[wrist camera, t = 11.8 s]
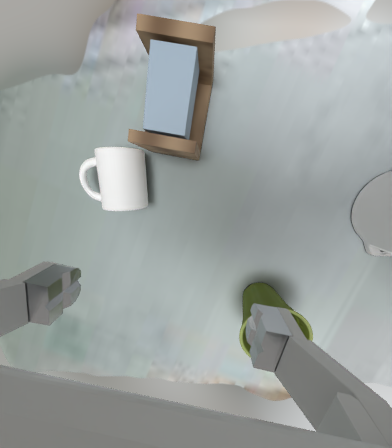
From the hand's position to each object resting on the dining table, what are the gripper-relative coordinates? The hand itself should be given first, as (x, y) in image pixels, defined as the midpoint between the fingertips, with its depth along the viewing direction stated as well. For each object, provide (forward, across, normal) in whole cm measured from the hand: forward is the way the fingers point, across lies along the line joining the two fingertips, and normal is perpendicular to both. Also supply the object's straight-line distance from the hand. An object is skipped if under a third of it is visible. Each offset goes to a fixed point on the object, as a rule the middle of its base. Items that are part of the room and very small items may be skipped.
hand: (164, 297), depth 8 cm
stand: (+29, +6, -15) cm, 33 cm away
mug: (+29, +16, -2) cm, 33 cm away
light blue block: (+23, +6, -15) cm, 28 cm away
